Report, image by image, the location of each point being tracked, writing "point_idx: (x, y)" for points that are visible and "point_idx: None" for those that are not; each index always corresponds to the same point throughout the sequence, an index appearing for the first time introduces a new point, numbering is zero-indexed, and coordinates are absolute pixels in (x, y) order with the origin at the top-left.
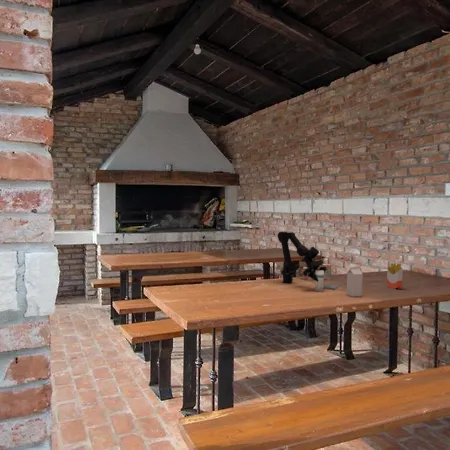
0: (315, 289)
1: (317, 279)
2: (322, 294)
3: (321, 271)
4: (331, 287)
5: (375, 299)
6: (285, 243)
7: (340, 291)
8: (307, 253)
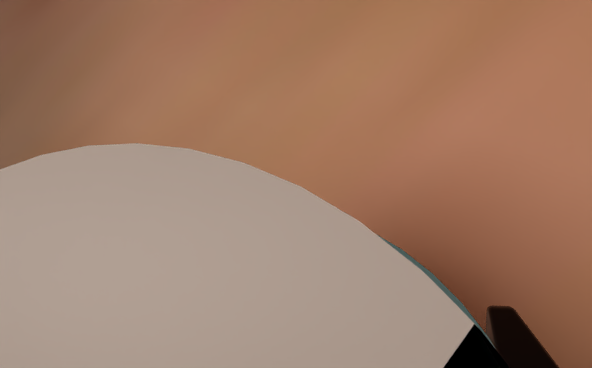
0: None
1: (525, 341)
2: (573, 63)
3: (251, 174)
4: None
5: None
6: None
7: (131, 112)
8: None
